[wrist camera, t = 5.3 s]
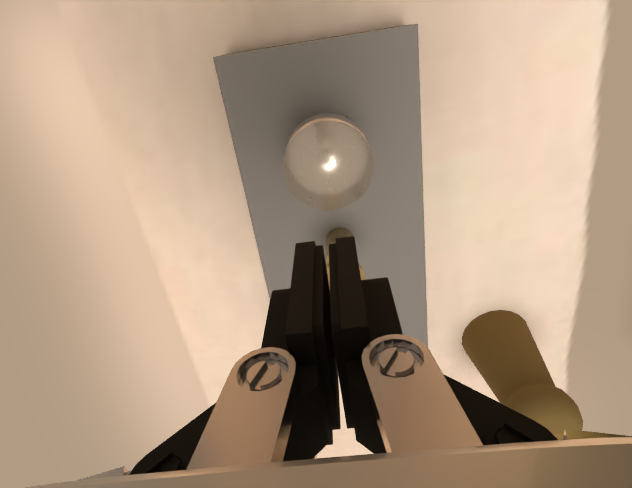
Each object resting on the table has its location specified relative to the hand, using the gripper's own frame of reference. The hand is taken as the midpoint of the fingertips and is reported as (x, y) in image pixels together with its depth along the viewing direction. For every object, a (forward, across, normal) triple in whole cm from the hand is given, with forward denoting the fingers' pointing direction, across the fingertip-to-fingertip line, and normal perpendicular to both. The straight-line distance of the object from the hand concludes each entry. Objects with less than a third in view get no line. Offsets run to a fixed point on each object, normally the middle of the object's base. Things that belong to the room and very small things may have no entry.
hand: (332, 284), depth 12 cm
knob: (+17, 0, 0) cm, 17 cm away
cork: (+20, -13, +21) cm, 32 cm away
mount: (+21, 0, +7) cm, 22 cm away
